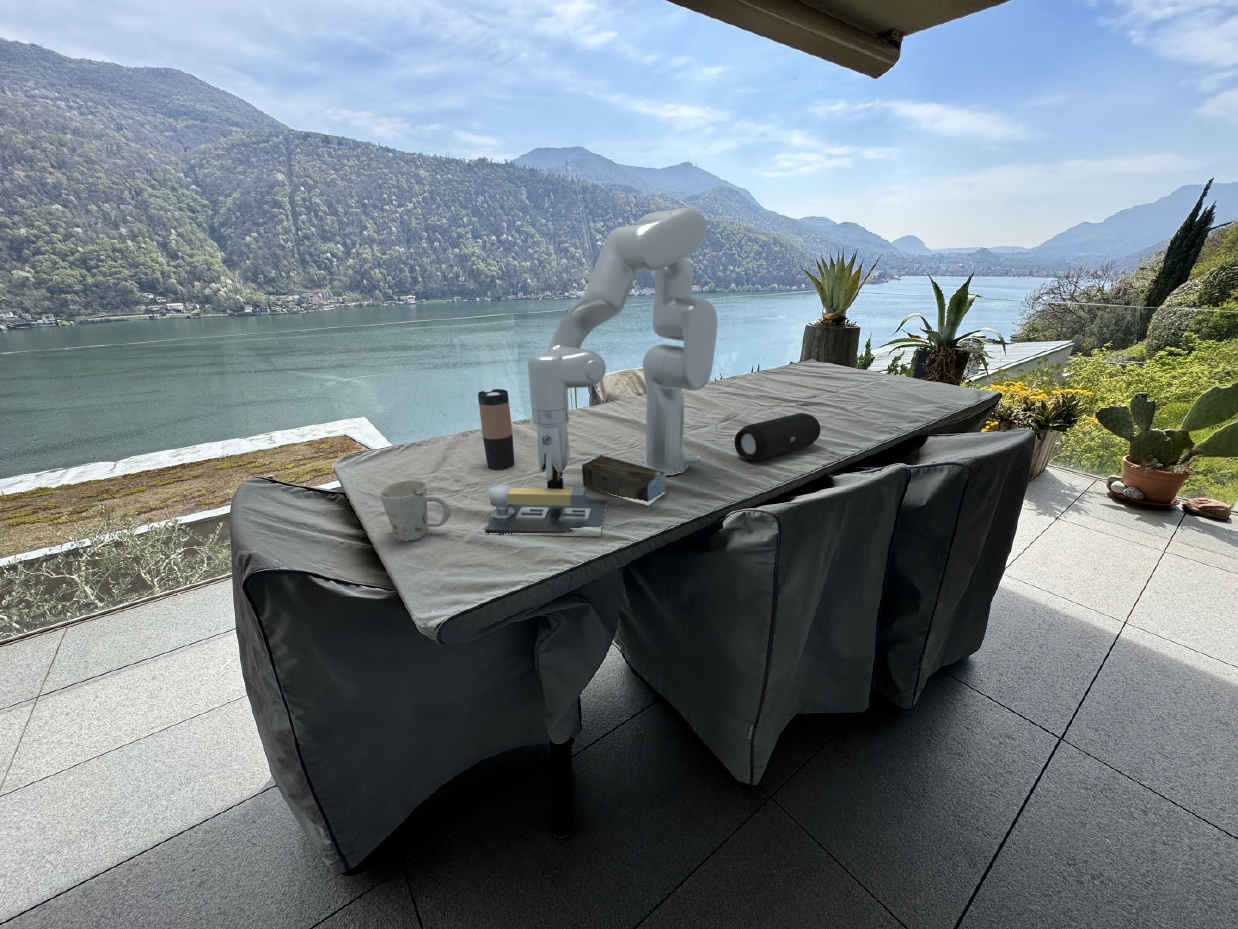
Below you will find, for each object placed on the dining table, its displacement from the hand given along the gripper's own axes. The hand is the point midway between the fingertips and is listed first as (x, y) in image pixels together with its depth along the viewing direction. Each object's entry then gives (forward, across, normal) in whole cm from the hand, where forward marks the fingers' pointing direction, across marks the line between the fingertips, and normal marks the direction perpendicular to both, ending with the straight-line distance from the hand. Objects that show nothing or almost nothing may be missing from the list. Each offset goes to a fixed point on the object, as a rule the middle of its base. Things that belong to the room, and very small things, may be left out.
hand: (556, 495), depth 105 cm
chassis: (+3, -6, 0) cm, 6 cm away
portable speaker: (+3, +36, -56) cm, 67 cm away
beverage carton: (+3, +9, -14) cm, 17 cm away
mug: (+3, -13, +25) cm, 28 cm away
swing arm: (-1, -6, +3) cm, 6 cm away
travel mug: (+3, +24, +20) cm, 31 cm away
